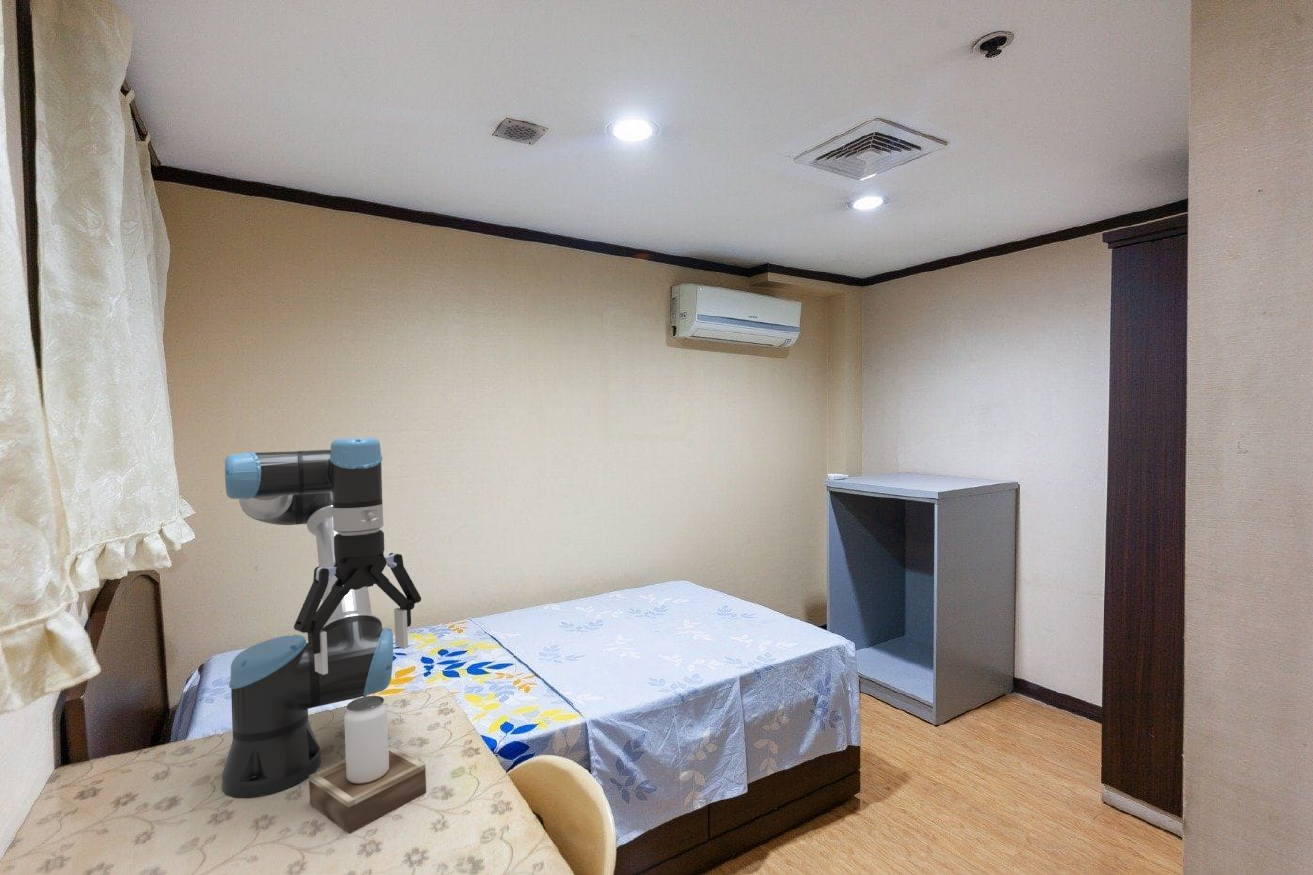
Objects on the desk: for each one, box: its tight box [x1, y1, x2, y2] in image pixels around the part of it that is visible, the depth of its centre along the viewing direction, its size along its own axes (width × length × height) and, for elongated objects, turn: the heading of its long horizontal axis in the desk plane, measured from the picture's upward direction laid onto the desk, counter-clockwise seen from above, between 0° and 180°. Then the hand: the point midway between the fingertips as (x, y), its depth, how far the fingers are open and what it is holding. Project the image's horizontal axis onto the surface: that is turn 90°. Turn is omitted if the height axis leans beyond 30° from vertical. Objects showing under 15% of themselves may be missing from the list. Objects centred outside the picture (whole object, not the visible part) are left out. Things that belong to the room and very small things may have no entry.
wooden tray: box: [308, 744, 427, 834], centre depth 105 cm, size 13×13×5 cm
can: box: [343, 695, 389, 784], centre depth 105 cm, size 6×6×12 cm
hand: (363, 659), depth 105 cm, fingers open, 13 cm apart
